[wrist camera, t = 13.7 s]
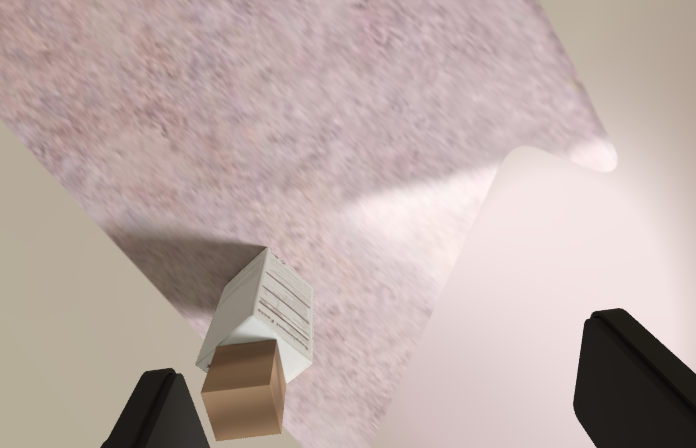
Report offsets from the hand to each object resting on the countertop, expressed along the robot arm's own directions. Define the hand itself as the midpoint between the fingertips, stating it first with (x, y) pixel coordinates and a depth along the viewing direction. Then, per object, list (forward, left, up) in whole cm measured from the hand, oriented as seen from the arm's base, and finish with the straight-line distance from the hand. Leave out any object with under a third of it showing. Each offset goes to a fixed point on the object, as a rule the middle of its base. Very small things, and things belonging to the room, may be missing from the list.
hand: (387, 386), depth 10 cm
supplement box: (+17, -10, -34) cm, 39 cm away
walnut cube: (+17, -10, -21) cm, 29 cm away
